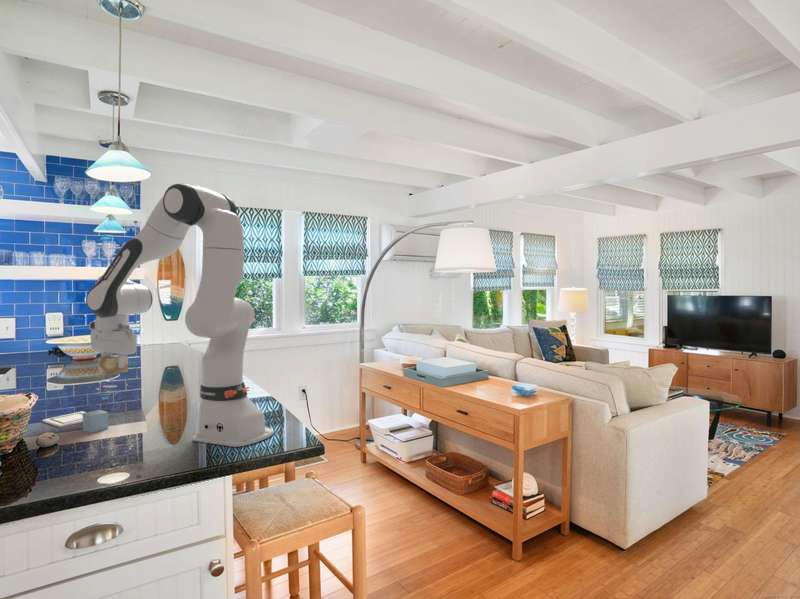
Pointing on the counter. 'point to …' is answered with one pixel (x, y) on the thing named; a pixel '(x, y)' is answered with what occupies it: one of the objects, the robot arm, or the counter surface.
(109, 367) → the oak block
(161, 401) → the counter surface
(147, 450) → the counter surface
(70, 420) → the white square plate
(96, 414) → the blue cube
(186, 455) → the counter surface
